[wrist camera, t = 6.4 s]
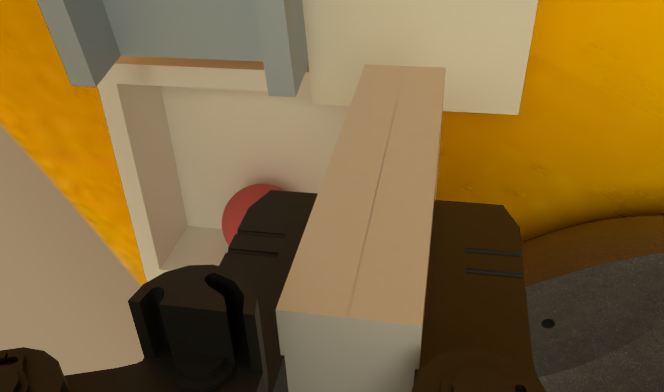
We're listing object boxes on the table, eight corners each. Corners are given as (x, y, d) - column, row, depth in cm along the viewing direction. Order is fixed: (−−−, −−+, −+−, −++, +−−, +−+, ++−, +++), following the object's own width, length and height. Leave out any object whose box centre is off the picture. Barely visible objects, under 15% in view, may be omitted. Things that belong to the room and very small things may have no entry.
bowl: (849, 291, 27) (937, 409, 22) (433, 436, 38) (426, 538, 33) (725, 79, 23) (795, 162, 18) (299, 306, 34) (268, 399, 29)
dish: (139, 27, 26) (91, 62, 23) (389, 36, 25) (376, 75, 21) (179, 230, 32) (146, 281, 29) (384, 249, 30) (374, 305, 27)
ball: (224, 165, 28) (203, 232, 26) (301, 170, 27) (285, 240, 25) (241, 209, 31) (223, 272, 29) (311, 214, 30) (297, 280, 28)
